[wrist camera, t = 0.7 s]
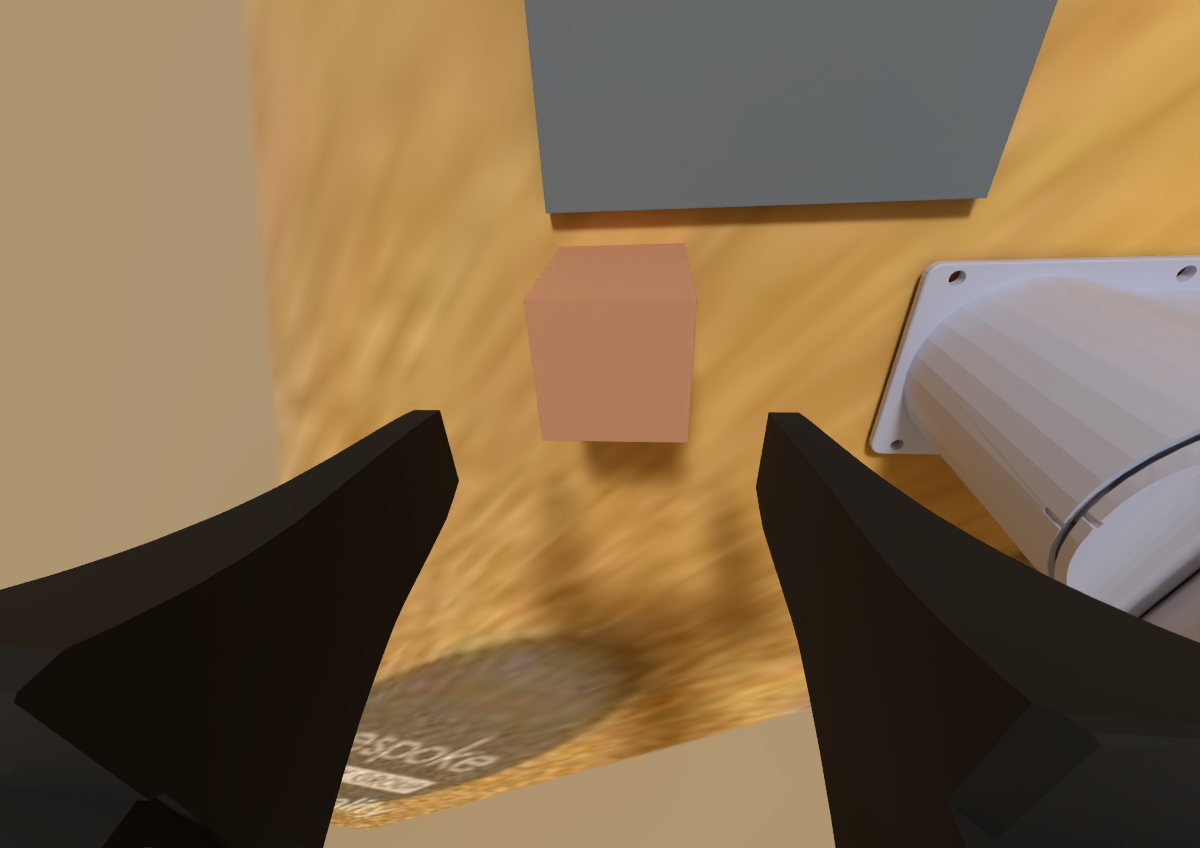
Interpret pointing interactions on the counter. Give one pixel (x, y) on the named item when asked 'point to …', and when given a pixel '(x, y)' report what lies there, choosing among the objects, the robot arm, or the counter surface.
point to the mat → (775, 99)
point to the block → (613, 343)
